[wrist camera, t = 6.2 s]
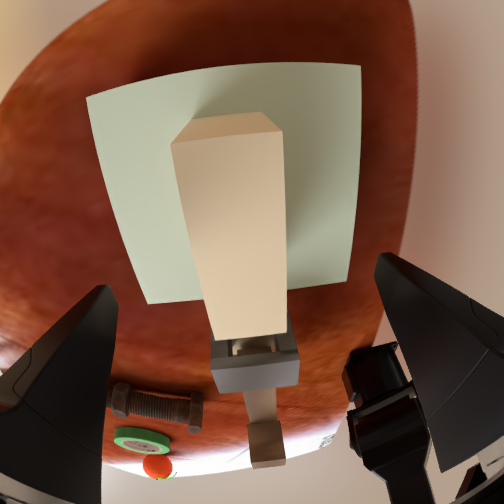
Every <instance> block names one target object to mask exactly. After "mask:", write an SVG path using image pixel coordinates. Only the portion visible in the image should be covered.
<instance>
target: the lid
mask: <svg viewBox="0 0 504 504" xmlns="http://www.w3.org/2000/svg"><path fill="white" fill-rule="evenodd" d="M86 100H87V105H88V111H89V116H90V121H91V126H92V131H93V136H94V140H95V145H96V149H97V153H98V157H99V161H100V165H101V169H102V173H103V177H104V180H105V184H106V187H107V191H108V194H109V198H110V201H111V204H112V208H113V211H114V214H115V217H116V220H117V223H118V226H119V229H120V232H121V235H122V238H123V241H124V244H125V247H126V250H127V252H128V255H129V258H130V261H131V263H132V266H133V268H134V271H135V274H136V276H137V279H138V281H139V284H140V286H141V289H142V291H143V293H144V296H145V298H146V301H147V303H148V304H154V303H166V302H178V301H189V300H200V299H204V302H205V305H206V309H207V313H208V317H209V320H210V324H211V327H212V331H213V334H214V338H215V341H216V340H227V339H237V338H246V337H255V336H263V335H271V334H279V333H286V332H287V290H288V289H295V288H303V287H310V286H317V285H324V284H331V283H338V282H344V281H347V275H348V269H349V262H350V255H351V248H352V240H353V232H354V224H355V215H356V205H357V194H358V181H359V167H360V147H361V66H358V65H348V64H334V63H313V62H276V63H254V64H241V65H230V66H221V67H213V68H205V69H199V70H192V71H186V72H181V73H175V74H170V75H165V76H161V77H156V78H152V79H147V80H143V81H139V82H135V83H132V84H128V85H124V86H121V87H117V88H114V89H111V90H107V91H104V92H101V93H98V94H95V95H92V96H89V97H86Z"/></svg>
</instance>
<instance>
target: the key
mask: <svg viewBox="0 0 504 504" xmlns="http://www.w3.org/2000/svg"><path fill="white" fill-rule="evenodd" d="M270 352H272V351H271V346H267V347H259V348H250V349H241V350H237V356H245V355H254V354H262V353H270ZM242 393H243V397H244V401H245V405H246V409H247V412H248V416H249V420H250V424H247V427H248V438H249V449H250V459H251V464H252V466H253V468H254V469H256V468H266V467H274V466H281V465H285V462H286V456H285V450H284V443H283V437H282V430H281V424H280V420H279V421H277V414H276V388H271V389H263V390H254V391H244V392H242Z"/></svg>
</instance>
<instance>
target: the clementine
mask: <svg viewBox="0 0 504 504" xmlns="http://www.w3.org/2000/svg"><path fill="white" fill-rule="evenodd" d="M143 468H144V471H145V472H146V474H147V475H149V476H150V477H151V478H154V479H157V480H158V479H161V480H166V479H165V478H167V477H168V476H169V475H170V474H171V472H172V463H171V461H170V460H169V459H168V458H167V457H166V456H165V455H162V454H149V455H148V456H146V457H145V459H144V460H143ZM176 473H177V472H176ZM175 475H176V474H175ZM175 475H174V476H175ZM174 476H173V477H174ZM173 477H171V478H173ZM167 479H170V478H167Z"/></svg>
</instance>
